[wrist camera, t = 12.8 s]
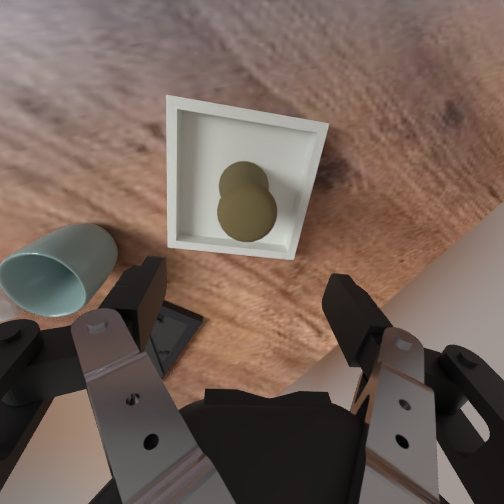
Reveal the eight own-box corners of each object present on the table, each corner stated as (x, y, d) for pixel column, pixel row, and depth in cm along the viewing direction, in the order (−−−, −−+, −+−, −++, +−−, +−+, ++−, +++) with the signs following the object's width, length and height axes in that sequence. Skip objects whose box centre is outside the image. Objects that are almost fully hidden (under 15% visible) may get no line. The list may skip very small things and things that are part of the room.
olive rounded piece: (235, 220, 31) (235, 264, 22) (208, 177, 29) (195, 206, 19) (277, 196, 30) (297, 232, 20) (253, 150, 27) (264, 166, 18)
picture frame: (159, 376, 47) (203, 313, 40) (156, 387, 45) (202, 323, 38) (86, 352, 43) (122, 279, 36) (79, 364, 41) (115, 288, 34)
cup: (108, 207, 30) (56, 243, 22) (136, 260, 34) (102, 308, 25) (50, 222, 31) (-25, 263, 22) (84, 272, 34) (32, 325, 26)
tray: (173, 97, 25) (166, 94, 23) (320, 123, 27) (329, 123, 25) (173, 237, 33) (167, 247, 30) (289, 249, 35) (293, 260, 32)
